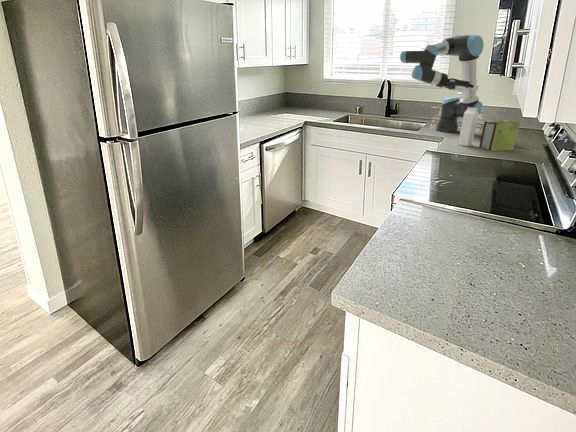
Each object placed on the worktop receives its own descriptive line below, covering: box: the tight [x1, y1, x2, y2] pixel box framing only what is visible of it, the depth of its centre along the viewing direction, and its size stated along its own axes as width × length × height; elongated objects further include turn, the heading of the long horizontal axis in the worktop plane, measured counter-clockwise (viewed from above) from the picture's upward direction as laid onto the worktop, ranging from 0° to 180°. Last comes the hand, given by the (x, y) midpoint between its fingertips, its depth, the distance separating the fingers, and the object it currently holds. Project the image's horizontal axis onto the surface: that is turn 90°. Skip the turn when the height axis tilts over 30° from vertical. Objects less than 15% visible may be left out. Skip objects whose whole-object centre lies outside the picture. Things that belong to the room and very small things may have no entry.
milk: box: [457, 107, 480, 147], centre depth 223 cm, size 6×6×22 cm
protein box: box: [479, 119, 521, 152], centre depth 216 cm, size 10×15×16 cm
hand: (470, 89), depth 219 cm, fingers open, 13 cm apart
